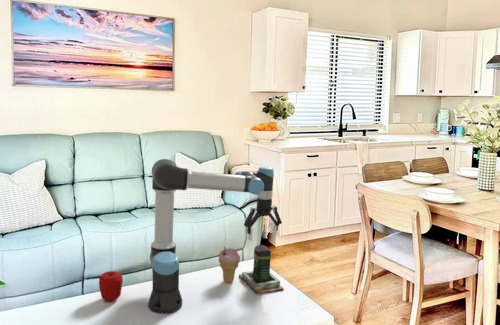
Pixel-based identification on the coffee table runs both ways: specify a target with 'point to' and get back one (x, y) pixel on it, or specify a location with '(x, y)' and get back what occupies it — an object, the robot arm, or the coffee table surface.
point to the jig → (261, 284)
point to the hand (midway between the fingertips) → (262, 238)
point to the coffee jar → (261, 264)
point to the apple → (110, 285)
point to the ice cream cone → (229, 263)
